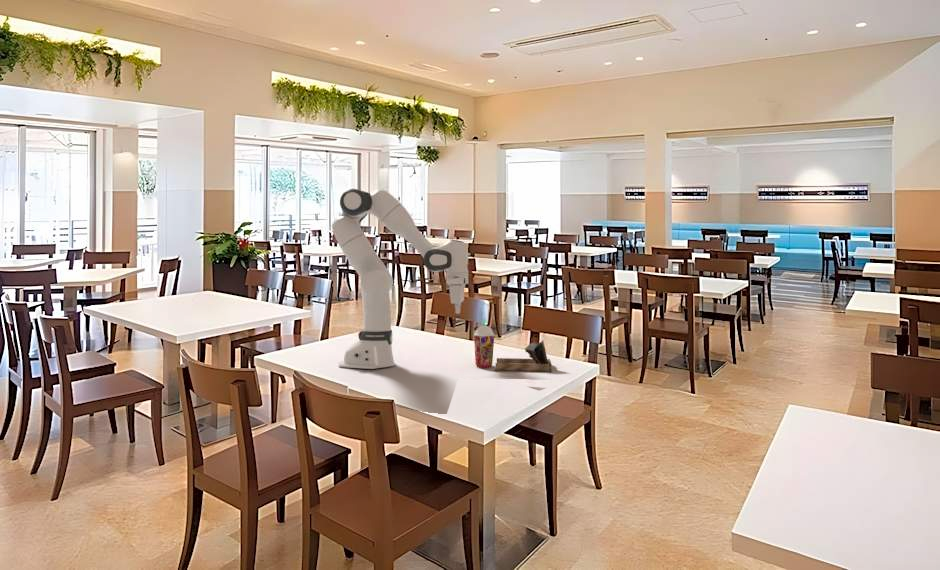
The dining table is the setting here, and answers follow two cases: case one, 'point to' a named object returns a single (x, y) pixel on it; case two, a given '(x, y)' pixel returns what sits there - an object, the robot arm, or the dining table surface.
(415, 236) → the robot arm
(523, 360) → the cradle
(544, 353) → the bell
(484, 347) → the smoothie
